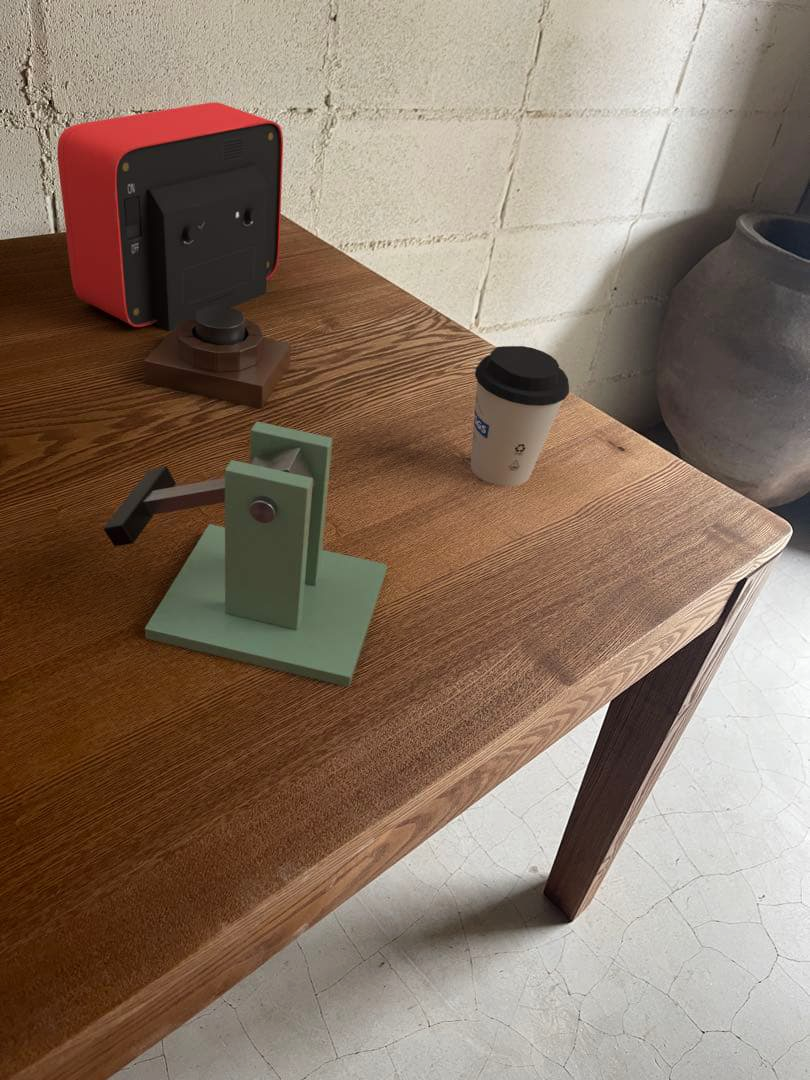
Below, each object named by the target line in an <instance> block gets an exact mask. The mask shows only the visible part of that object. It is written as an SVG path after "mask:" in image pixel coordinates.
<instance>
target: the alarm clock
mask: <svg viewBox="0 0 810 1080" xmlns="http://www.w3.org/2000/svg"><path fill="white" fill-rule="evenodd" d="M56 150H57V151H56V152H57V166H58V167H57V168H58V175H59V185H60V191H61V199H62V200H61V202H62V207H63V217H64V224H65V226H64V227H65V234H66V243H67V250H68V259H69V267H70V268H69V269H70V274H71V275H70V276H71V281H72V287H73V290H74V292H75V295H76V296H77V297H78V299H80V300H82V301H83V302H85V303H87V304H89V305H91V306H93V307H95V308H97V309H99V310H101V311H102V312H105V313H107V314H109V315H111V316H113V317H114V318H115V319H116V318H117V319H118V320H120V321H122V322H124V323H126V324H128V325H130V326H132V327H135V328H142V327H146V326H150V325H153V324H154V325H156V326H158V327H160V328H162V329H163V330H165V331H168V332H171V331H172V330H173V329H174V328H175V327H176V326H177V325H178V324H179V323H180V322H181V321H182V320H183V321H184V320H185V319H187V318H191V317H194V316H195V315H196V313H197V312H198V311H199V310H201V309H203V308H206V307H212V306H223V307H229V308H233V307H235V306H237V305H240V304H244V303H246V302H248V301H250V300H253V299H255V298H258V297H261V296H264V295H265V294H267V280H269V279H270V278H271V277H273V275H274V274H275V272H276V270H277V268H278V263H279V258H280V242H281V241H280V239H281V237H280V236H281V217H282V216H281V214H282V213H281V212H282V187H283V162H284V159H283V158H284V136H283V130H282V127H281V126H280V124H279V123H277V122H275V121H272V120H270V119H267V118H264V117H262V116H258V115H255V114H253V113H249V112H247V111H244V110H241V109H240V108H239V109H238V108H236V107H233V106H230V105H227V104H224V103H221V102H213V101H212V102H205V103H199V104H193V105H192V104H191V105H187V106H180V107H173V108H168V109H162V110H155V111H148V112H142V113H136V114H130V115H123V116H118V117H112V118H105V119H100V120H99V119H98V120H94V121H87V122H81V123H77V124H74V125H71V126H69V127H67V128H65V129H64V130H63V131H62V132H61V133H60V135H59V137H58V141H57V149H56Z"/></svg>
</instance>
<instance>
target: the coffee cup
mask: <svg viewBox="0 0 810 1080" xmlns="http://www.w3.org/2000/svg"><path fill="white" fill-rule="evenodd" d="M474 376H475V379H476V390H475V391H476V392H475V402H474V403H475V404H474V415H473V416H474V417H473V429H472V441H471V453H470V454H471V455H470V468H471V470H472V472H473V473H474V475H475V476H476V477H477V478H479V479H480V480H482V481H483V482H485V483H488V484H491V485H493V486H499V487H504V488H507V487H510V488H511V487H512V488H513V487H517V486H521V485H524V483H526V482H527V481H528V480H529V479H530V477H531V475H532V473H533V470H534V468H535V466H536V464H537V461H538V460H539V456H540V454H541V452H542V449H543V447H544V445H545V443H546V441H547V438H548V437H549V436H548V435H549V434H550V431H551V430H552V429H551V428H552V426H553V424H554V422H555V419H556V417H557V416H558V413H559V411H560V408H561V406H562V404H563V401H564V400H565V399H566V398H567V397H568V396H569V394H570V383H569V382H570V381H569V378H568V376H567V374H566V373H565V371H564V370H563V369H562V368H561V367H560V364H559V362H558V360H557V359H555V358H554V357H553V356H552V355H550V354H548V353H547V352H545V351H543V350H540V349H538V348H534V347H529V346H524V345H504V346H502V345H501V346H496V347H495V348H494V349H493V350H492V351H491V352H490V354H489V355H486V356H485V357H483V359H482V360H481V361H480V362H479V363H478V365H477V366H476V367H475V371H474Z"/></svg>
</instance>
